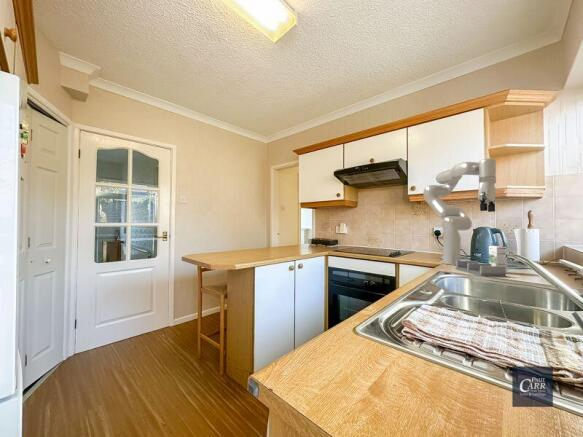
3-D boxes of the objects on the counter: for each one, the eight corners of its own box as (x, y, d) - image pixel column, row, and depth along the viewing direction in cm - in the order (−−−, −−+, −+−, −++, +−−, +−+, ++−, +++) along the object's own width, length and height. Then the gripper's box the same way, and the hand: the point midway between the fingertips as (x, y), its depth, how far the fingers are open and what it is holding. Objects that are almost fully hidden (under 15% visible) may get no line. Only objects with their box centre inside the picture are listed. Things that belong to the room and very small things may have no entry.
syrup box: (507, 273, 132) (507, 246, 132) (496, 273, 132) (496, 246, 132) (498, 271, 137) (498, 245, 137) (488, 271, 137) (488, 245, 138)
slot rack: (456, 269, 141) (456, 260, 141) (477, 269, 141) (477, 261, 141) (481, 276, 123) (481, 266, 123) (505, 276, 124) (505, 266, 124)
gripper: (486, 183, 144) (486, 212, 144) (472, 180, 136) (472, 210, 135) (502, 181, 138) (502, 211, 137) (488, 178, 129) (488, 210, 129)
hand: (487, 211), depth 136 cm, fingers open, 9 cm apart
